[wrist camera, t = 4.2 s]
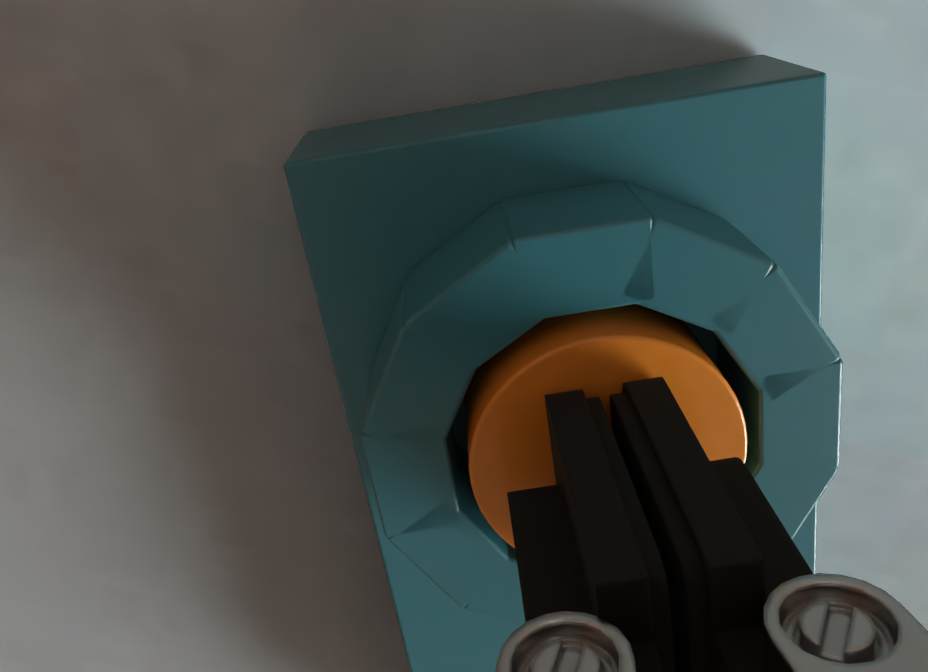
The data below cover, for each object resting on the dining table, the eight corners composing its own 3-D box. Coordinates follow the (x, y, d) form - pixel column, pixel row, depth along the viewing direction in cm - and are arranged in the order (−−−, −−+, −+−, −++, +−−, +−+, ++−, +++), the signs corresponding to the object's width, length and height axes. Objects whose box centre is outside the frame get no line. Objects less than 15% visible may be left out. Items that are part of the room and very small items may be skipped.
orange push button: (445, 303, 13) (447, 361, 11) (700, 262, 13) (747, 313, 11) (483, 511, 15) (490, 592, 13) (709, 476, 15) (751, 552, 13)
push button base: (304, 131, 14) (255, 200, 10) (764, 53, 14) (899, 92, 10) (447, 734, 21) (451, 925, 17) (769, 687, 20) (854, 870, 16)
